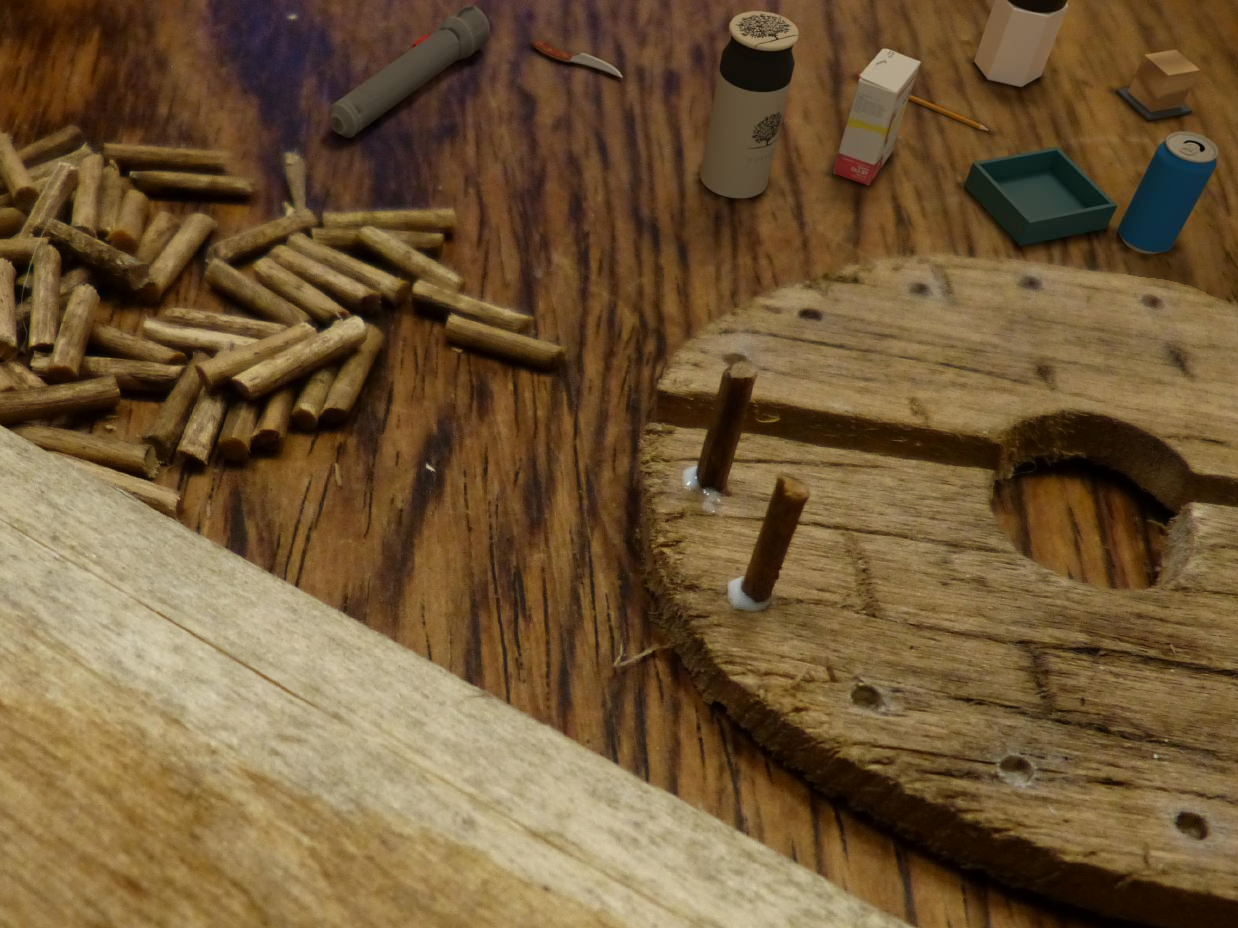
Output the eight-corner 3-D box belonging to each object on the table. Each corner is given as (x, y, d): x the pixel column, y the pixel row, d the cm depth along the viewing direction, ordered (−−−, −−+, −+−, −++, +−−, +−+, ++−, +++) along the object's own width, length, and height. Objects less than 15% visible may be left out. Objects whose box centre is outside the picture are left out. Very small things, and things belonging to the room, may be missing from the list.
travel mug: (688, 167, 151) (714, 14, 136) (748, 156, 153) (780, 5, 138) (717, 205, 147) (747, 52, 132) (778, 194, 149) (814, 42, 134)
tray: (1106, 228, 149) (1117, 205, 146) (1019, 246, 146) (1029, 222, 143) (1048, 170, 155) (1058, 146, 153) (963, 185, 152) (972, 162, 150)
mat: (1190, 113, 165) (1192, 110, 165) (1147, 120, 163) (1148, 117, 163) (1158, 84, 169) (1159, 81, 168) (1115, 91, 167) (1116, 88, 167)
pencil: (856, 79, 165) (858, 73, 164) (858, 77, 165) (860, 71, 165) (988, 135, 159) (991, 129, 159) (991, 133, 160) (993, 127, 159)
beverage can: (1181, 243, 148) (1233, 148, 138) (1153, 265, 145) (1204, 170, 136) (1133, 217, 151) (1181, 122, 141) (1104, 238, 148) (1151, 143, 138)
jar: (1001, 45, 172) (1034, -48, 162) (1051, 72, 169) (1088, -21, 159) (961, 66, 168) (993, -28, 158) (1012, 94, 165) (1048, 0, 155)
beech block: (1181, 107, 165) (1200, 69, 161) (1150, 112, 164) (1168, 75, 160) (1158, 86, 168) (1175, 49, 163) (1127, 92, 166) (1144, 54, 162)
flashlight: (346, 154, 150) (315, 123, 149) (482, 53, 164) (454, 24, 163) (359, 126, 146) (327, 93, 145) (497, 25, 159) (468, -5, 159)
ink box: (868, 187, 151) (897, 92, 141) (830, 173, 152) (856, 78, 142) (893, 153, 155) (923, 58, 145) (856, 140, 156) (883, 45, 147)
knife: (631, 66, 161) (622, 76, 160) (631, 70, 162) (621, 81, 160) (538, 36, 164) (528, 46, 162) (538, 40, 165) (527, 50, 163)
